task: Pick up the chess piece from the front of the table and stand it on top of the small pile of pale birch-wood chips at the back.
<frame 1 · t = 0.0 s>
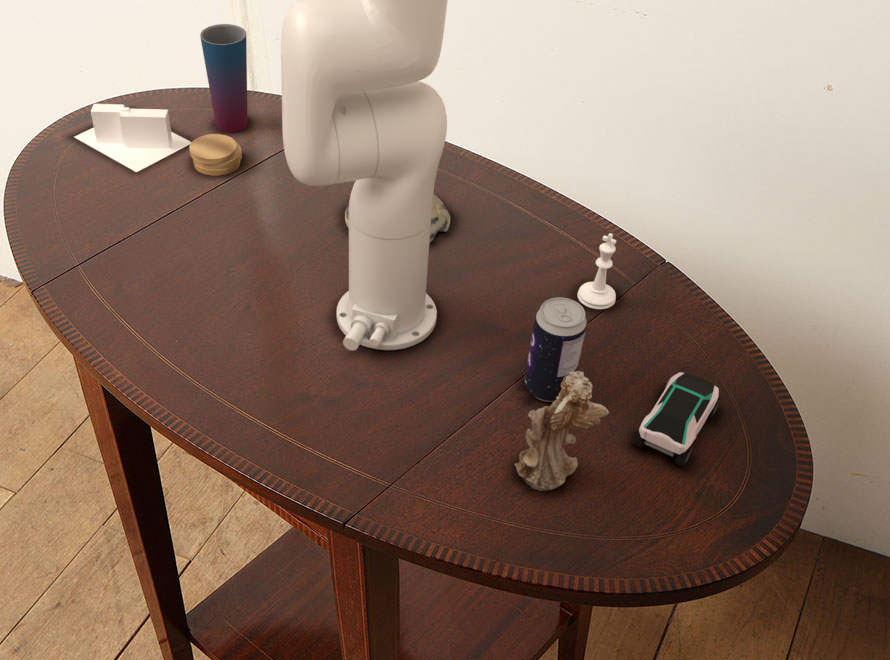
beverage can: (547, 390, 116), on the table
napkin holder: (133, 141, 153), on the table
toy car: (673, 430, 112), on the table
figurine: (546, 476, 107), on the table
decorative bowl: (397, 218, 140), on the table
cup: (231, 125, 157), on the table
chess piece: (596, 298, 128), on the table
chip pile: (217, 163, 149), on the table
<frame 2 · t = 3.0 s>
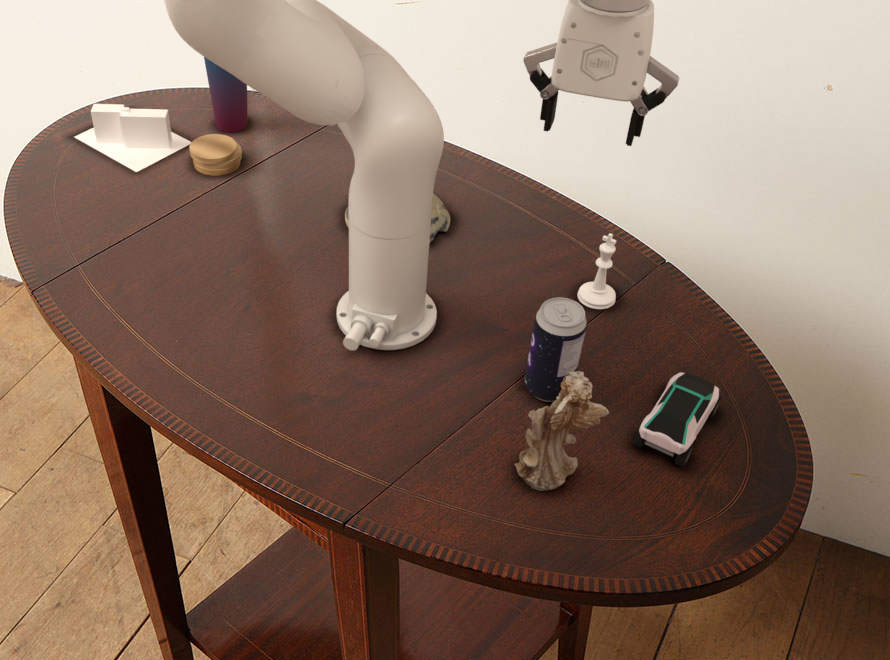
hand: (589, 132, 116), 22 cm above the table, tool pointing down, fingers open, 9 cm apart
nothing on the table moved.
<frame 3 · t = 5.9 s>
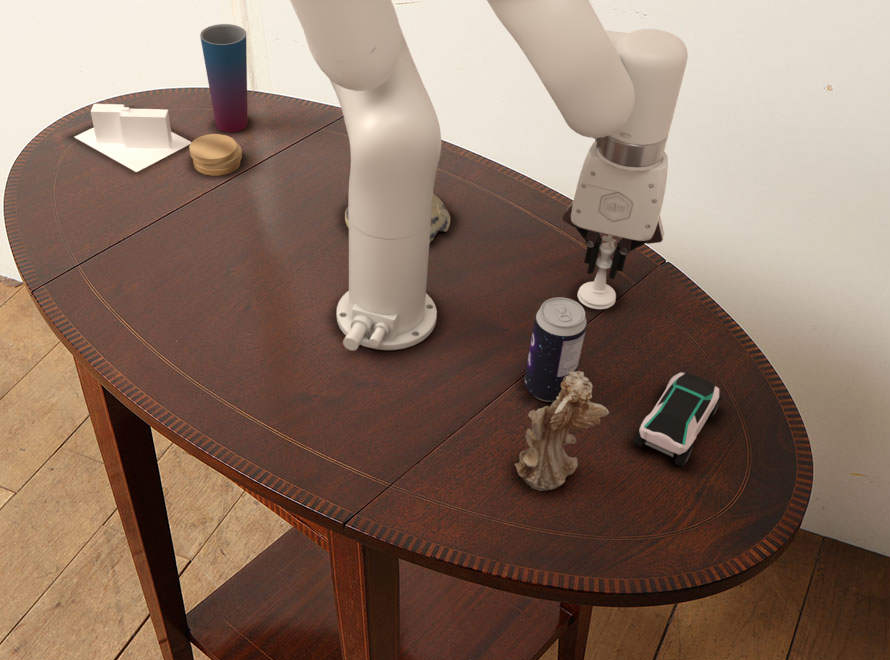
hand: (602, 269, 125), 5 cm above the table, tool pointing down, fingers closed on chess piece
chess piece: (596, 298, 128), on the table, touching gripper
everything else where it was.
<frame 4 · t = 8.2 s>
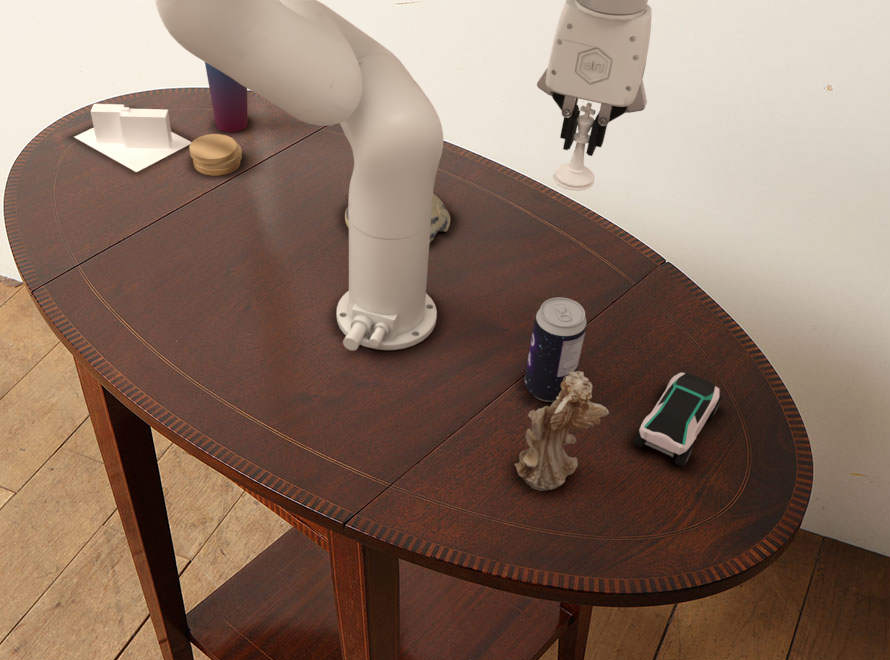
hand: (580, 146, 115), 21 cm above the table, tool pointing down, fingers closed on chess piece
chess piece: (573, 180, 119), point 16 cm above the table, touching gripper
everything else where it was.
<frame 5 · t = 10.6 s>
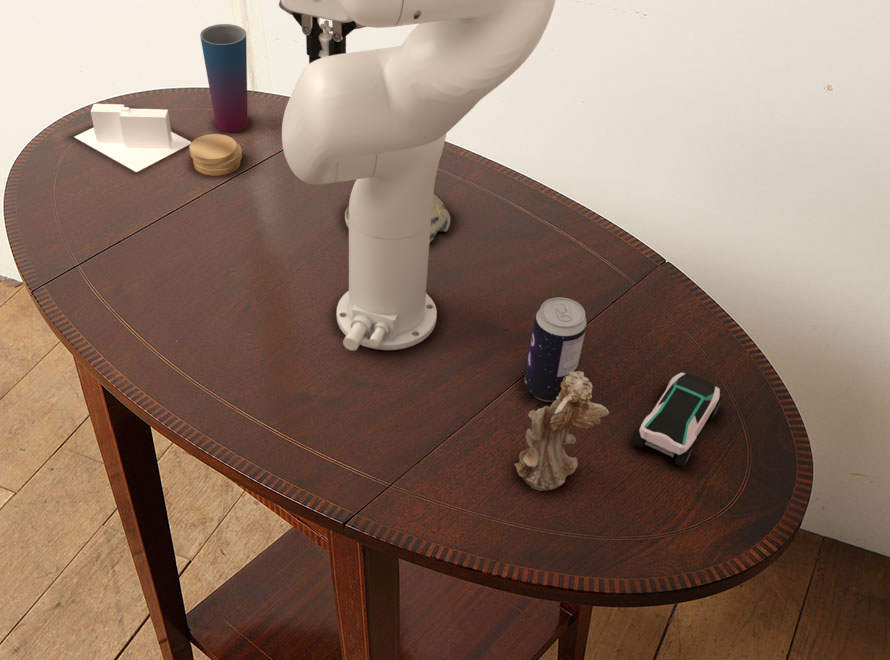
hand: (326, 62, 127), 21 cm above the table, tool pointing down, fingers closed on chess piece
chess piece: (327, 95, 131), point 17 cm above the table, touching gripper
everything else where it was.
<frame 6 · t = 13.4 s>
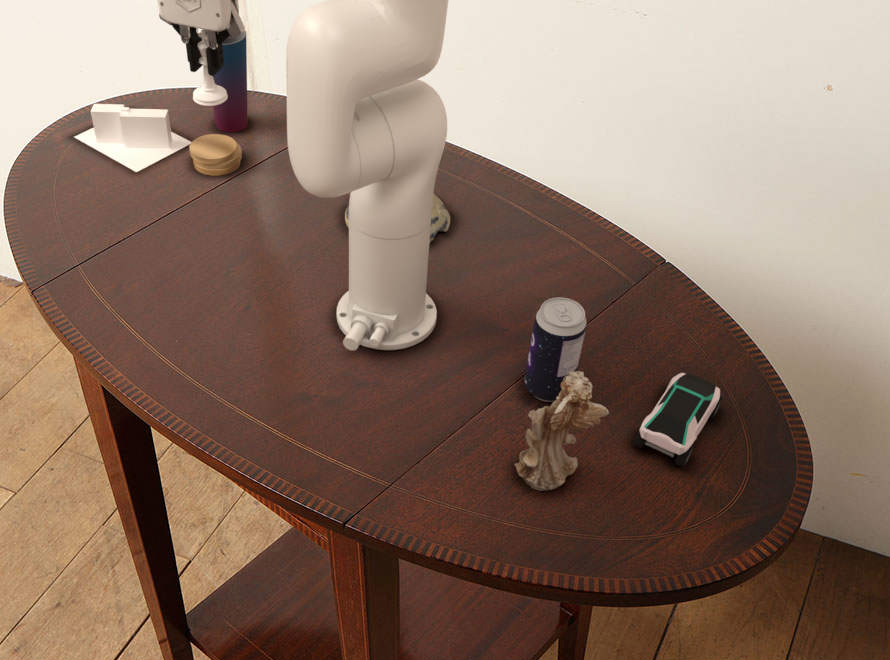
hand: (206, 68, 138), 15 cm above the table, tool pointing down, fingers closed on chess piece
chess piece: (210, 98, 141), point 11 cm above the table, touching gripper
everything else where it was.
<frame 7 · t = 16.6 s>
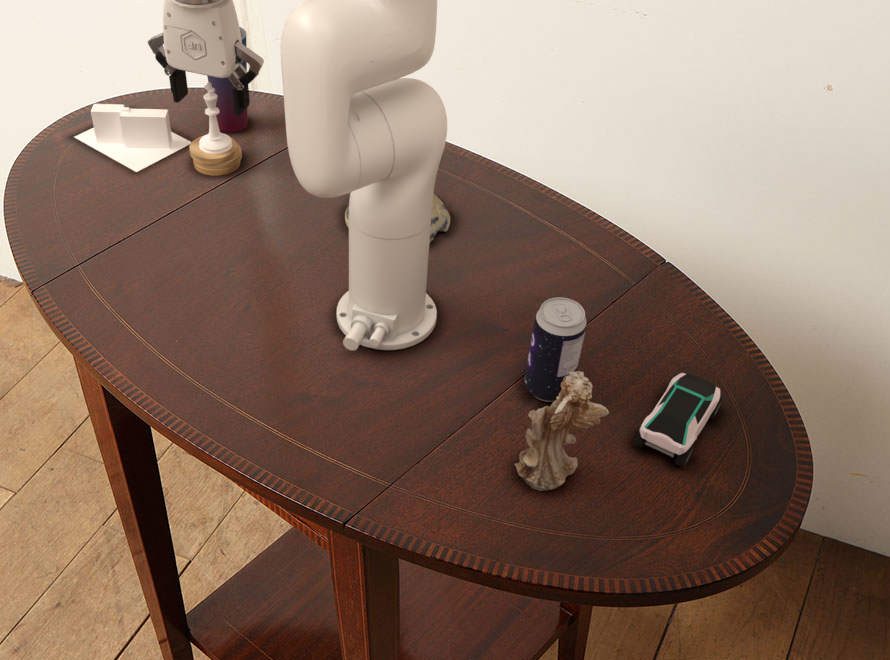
hand: (211, 104, 142), 10 cm above the table, tool pointing down, fingers open, 9 cm apart
chess piece: (216, 146, 147), point 3 cm above the table, touching chip pile
chip pile: (217, 163, 149), on the table, touching chess piece
everything else where it was.
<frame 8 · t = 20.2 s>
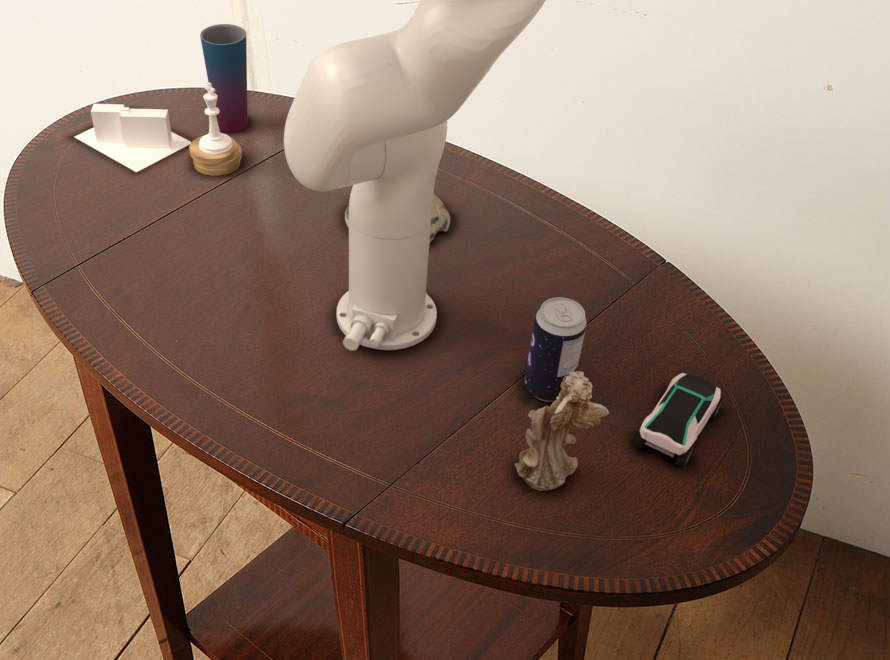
nothing on the table moved.
at the end: chess piece 0.1 cm off-centre on the chip pile, point 2.8 cm above the chip pile's base; chess piece tilted 0°; the gripper is holding nothing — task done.
